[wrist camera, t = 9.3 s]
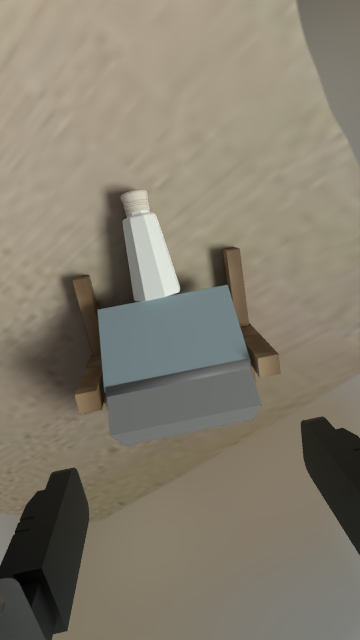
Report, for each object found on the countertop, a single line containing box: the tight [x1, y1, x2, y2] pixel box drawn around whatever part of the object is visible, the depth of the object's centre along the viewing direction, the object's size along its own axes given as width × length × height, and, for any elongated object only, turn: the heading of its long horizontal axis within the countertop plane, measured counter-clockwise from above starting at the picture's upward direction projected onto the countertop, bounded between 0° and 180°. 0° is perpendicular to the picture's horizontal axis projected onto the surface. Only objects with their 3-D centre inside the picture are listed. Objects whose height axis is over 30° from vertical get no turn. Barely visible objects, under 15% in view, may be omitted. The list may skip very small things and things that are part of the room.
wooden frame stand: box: [72, 247, 281, 414], centre depth 36 cm, size 19×16×11 cm
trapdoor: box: [98, 285, 261, 446], centre depth 36 cm, size 14×13×7 cm
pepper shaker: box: [121, 189, 180, 302], centre depth 36 cm, size 5×5×11 cm
